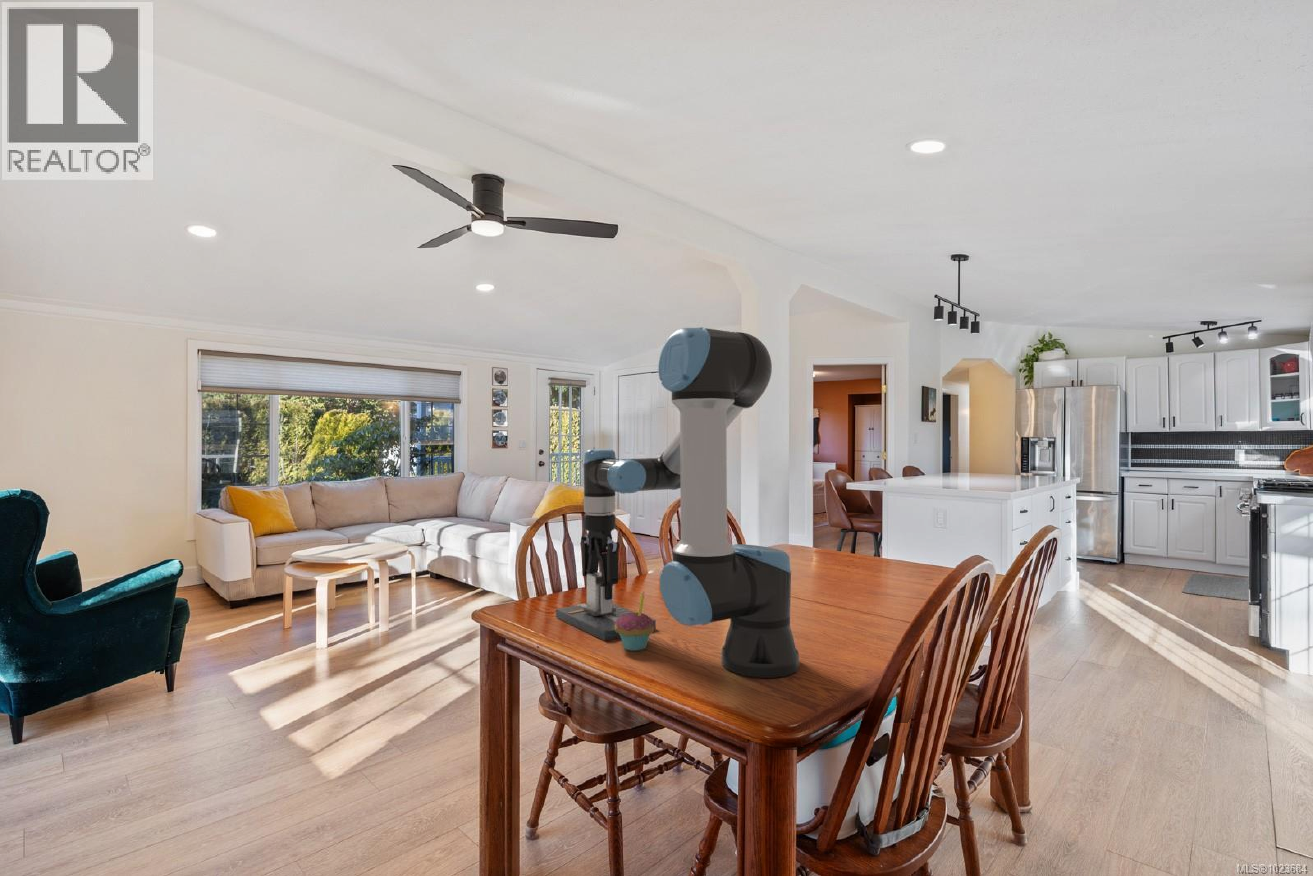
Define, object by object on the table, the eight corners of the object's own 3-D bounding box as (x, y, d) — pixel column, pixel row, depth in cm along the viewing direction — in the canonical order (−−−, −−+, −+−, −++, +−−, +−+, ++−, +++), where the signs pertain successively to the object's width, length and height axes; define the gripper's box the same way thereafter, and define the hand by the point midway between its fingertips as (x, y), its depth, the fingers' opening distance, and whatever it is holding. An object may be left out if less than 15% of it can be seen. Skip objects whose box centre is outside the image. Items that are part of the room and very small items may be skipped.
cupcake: (659, 642, 138) (659, 587, 138) (648, 655, 130) (648, 597, 130) (621, 639, 141) (621, 584, 141) (608, 651, 133) (608, 594, 132)
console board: (655, 629, 148) (655, 619, 148) (604, 641, 139) (604, 631, 139) (604, 607, 165) (604, 599, 165) (556, 617, 157) (556, 608, 157)
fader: (616, 611, 154) (616, 573, 154) (594, 616, 150) (594, 577, 150) (604, 607, 158) (604, 570, 158) (583, 611, 154) (583, 573, 154)
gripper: (634, 516, 149) (634, 615, 149) (593, 508, 163) (593, 599, 163) (607, 518, 144) (607, 621, 144) (567, 510, 159) (567, 604, 159)
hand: (599, 609), depth 154 cm, fingers closed on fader, 5 cm apart
